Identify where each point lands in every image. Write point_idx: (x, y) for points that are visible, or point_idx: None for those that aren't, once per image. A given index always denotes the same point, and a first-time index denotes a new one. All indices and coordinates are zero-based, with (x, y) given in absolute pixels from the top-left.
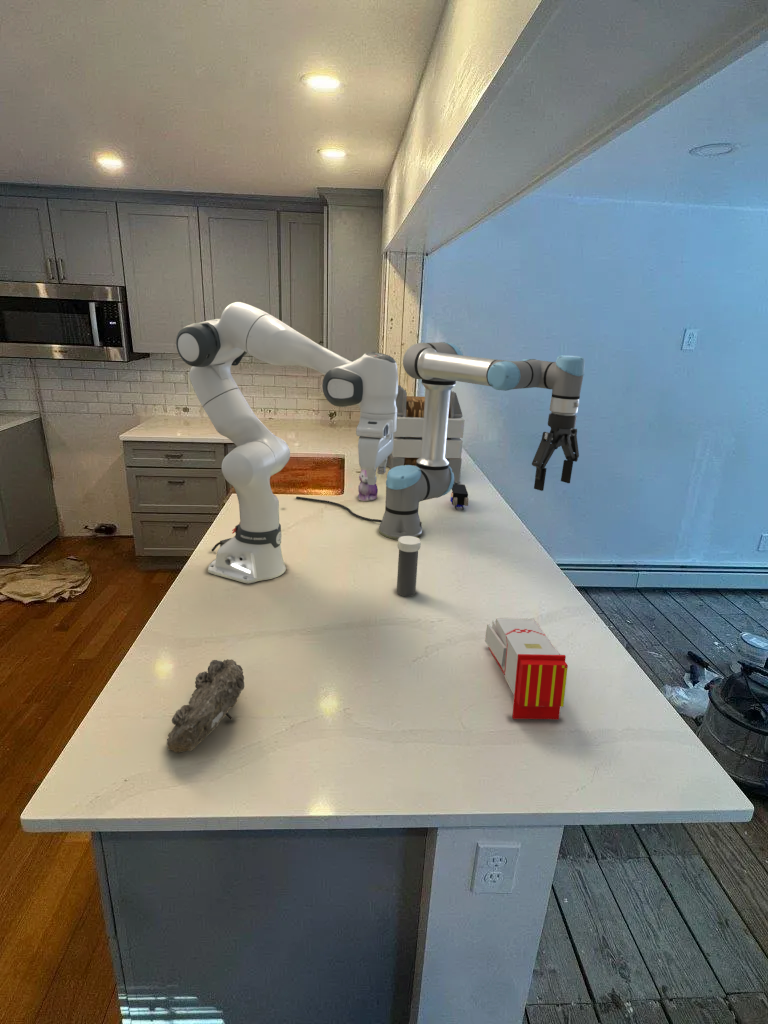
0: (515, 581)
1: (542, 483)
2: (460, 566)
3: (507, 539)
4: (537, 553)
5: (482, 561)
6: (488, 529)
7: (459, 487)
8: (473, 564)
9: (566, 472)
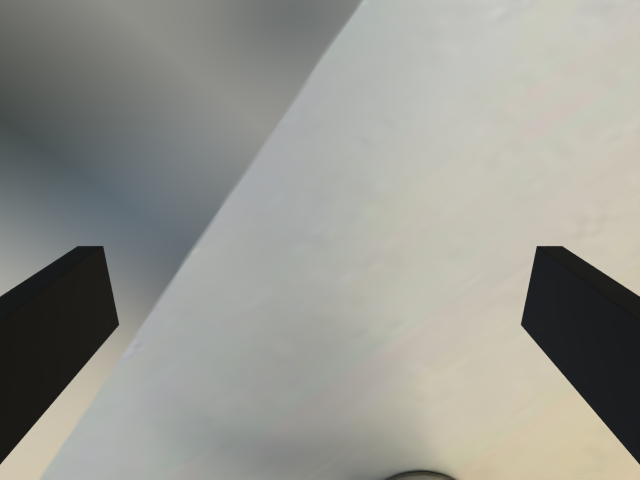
0: (435, 158)
1: (612, 283)
2: (471, 310)
3: (202, 350)
4: (204, 240)
5: (394, 297)
6: (195, 418)
7: None
8: (432, 298)
9: (47, 342)
